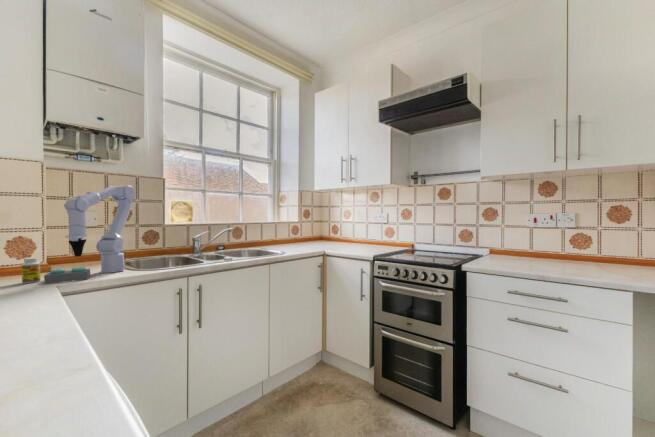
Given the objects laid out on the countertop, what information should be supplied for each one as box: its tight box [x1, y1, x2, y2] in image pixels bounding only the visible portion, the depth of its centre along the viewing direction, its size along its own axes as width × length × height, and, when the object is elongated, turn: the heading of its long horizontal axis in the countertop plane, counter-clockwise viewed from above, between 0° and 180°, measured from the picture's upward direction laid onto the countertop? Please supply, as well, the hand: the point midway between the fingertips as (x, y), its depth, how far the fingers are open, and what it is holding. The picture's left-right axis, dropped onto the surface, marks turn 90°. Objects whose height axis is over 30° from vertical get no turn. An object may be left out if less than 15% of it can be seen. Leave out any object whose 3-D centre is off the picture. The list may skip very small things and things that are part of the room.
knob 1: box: [50, 268, 66, 274], centre depth 129 cm, size 5×5×4 cm
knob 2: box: [71, 266, 86, 272], centre depth 133 cm, size 5×5×4 cm
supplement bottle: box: [21, 256, 41, 284], centre depth 127 cm, size 6×6×10 cm
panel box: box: [43, 268, 91, 284], centre depth 131 cm, size 14×8×3 cm, turn 122°
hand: (78, 256), depth 133 cm, fingers closed
